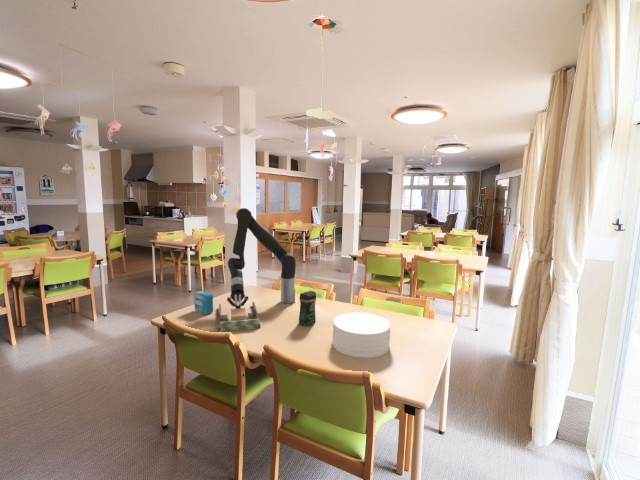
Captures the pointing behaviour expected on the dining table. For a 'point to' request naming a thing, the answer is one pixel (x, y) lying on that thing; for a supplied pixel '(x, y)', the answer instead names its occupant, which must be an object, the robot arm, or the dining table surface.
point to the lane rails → (239, 322)
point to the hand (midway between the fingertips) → (238, 312)
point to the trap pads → (250, 315)
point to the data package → (203, 302)
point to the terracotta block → (238, 314)
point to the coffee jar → (307, 308)
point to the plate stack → (361, 334)
